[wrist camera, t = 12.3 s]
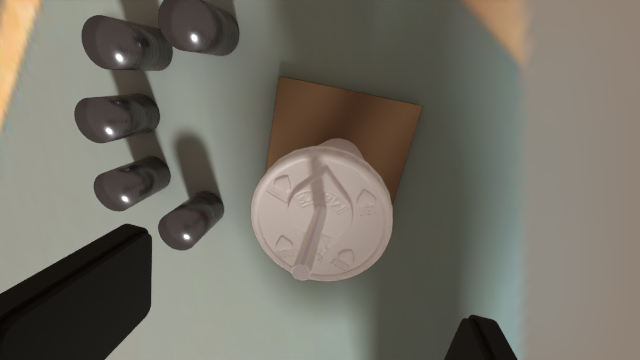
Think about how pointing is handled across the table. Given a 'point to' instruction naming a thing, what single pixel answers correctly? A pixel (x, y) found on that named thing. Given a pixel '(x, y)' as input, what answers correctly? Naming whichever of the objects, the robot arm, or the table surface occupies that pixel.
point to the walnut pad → (343, 125)
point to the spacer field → (150, 106)
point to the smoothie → (323, 212)
